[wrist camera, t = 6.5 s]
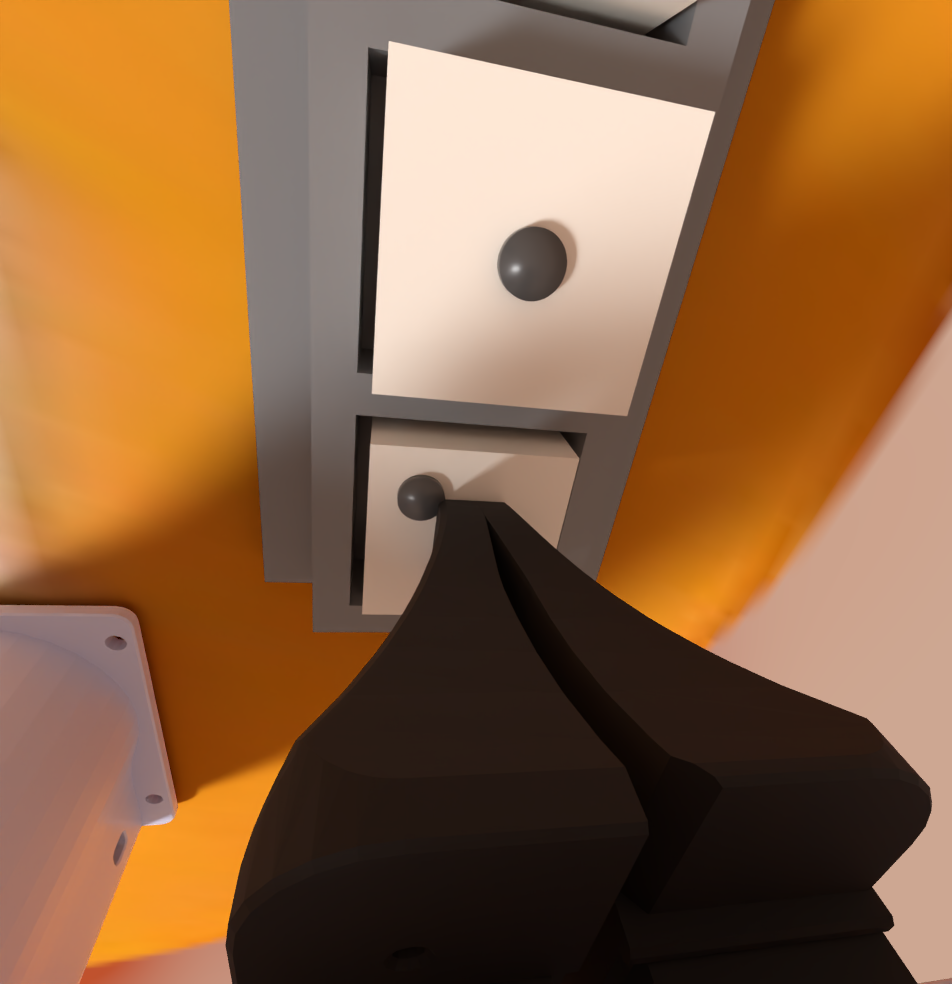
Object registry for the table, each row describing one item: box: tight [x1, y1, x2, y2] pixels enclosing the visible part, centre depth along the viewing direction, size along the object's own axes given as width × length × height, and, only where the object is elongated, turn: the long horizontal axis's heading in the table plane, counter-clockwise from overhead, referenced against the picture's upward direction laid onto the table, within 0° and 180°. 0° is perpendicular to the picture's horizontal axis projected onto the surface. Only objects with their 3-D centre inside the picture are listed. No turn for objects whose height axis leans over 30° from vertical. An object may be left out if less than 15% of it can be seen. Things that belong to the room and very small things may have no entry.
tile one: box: [372, 41, 715, 416], centre depth 8 cm, size 4×4×3 cm
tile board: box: [229, 0, 775, 632], centre depth 10 cm, size 17×9×3 cm, turn 172°
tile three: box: [362, 416, 579, 615], centre depth 12 cm, size 4×4×3 cm
